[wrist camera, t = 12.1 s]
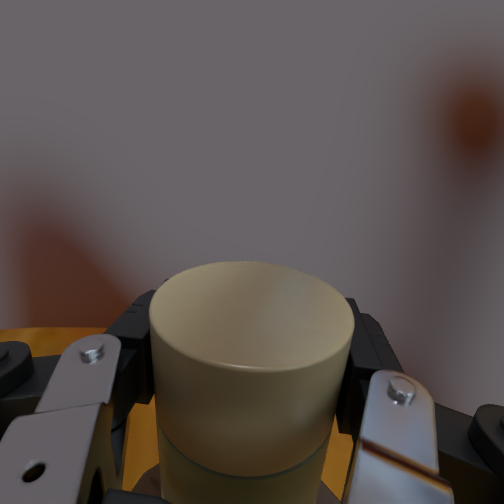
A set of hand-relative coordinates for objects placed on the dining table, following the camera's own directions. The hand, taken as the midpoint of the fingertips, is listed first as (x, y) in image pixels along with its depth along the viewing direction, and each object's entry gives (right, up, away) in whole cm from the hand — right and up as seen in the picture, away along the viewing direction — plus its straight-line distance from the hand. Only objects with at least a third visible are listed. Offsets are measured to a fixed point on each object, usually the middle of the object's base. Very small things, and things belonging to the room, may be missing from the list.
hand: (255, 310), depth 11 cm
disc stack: (-1, -7, 0) cm, 7 cm away
